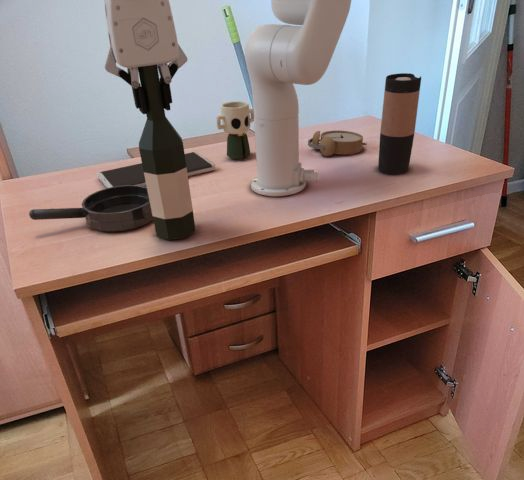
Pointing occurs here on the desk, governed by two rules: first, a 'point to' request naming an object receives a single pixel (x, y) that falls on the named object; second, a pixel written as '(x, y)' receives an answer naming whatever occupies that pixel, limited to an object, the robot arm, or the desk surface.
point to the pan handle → (56, 213)
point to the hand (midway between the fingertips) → (154, 109)
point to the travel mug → (398, 122)
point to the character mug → (236, 127)
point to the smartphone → (136, 173)
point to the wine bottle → (164, 164)
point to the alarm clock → (337, 142)
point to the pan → (118, 208)
